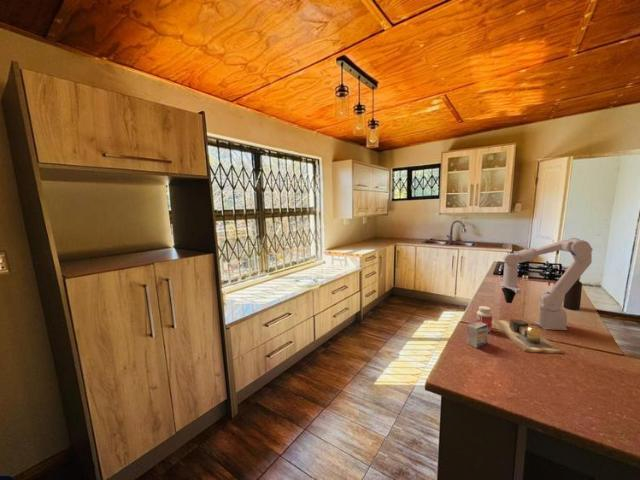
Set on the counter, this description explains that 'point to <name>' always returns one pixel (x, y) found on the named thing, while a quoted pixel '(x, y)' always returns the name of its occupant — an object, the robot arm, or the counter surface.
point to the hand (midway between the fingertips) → (508, 302)
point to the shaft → (519, 327)
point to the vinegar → (573, 296)
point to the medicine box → (477, 334)
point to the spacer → (533, 334)
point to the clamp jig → (525, 338)
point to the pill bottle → (485, 316)
